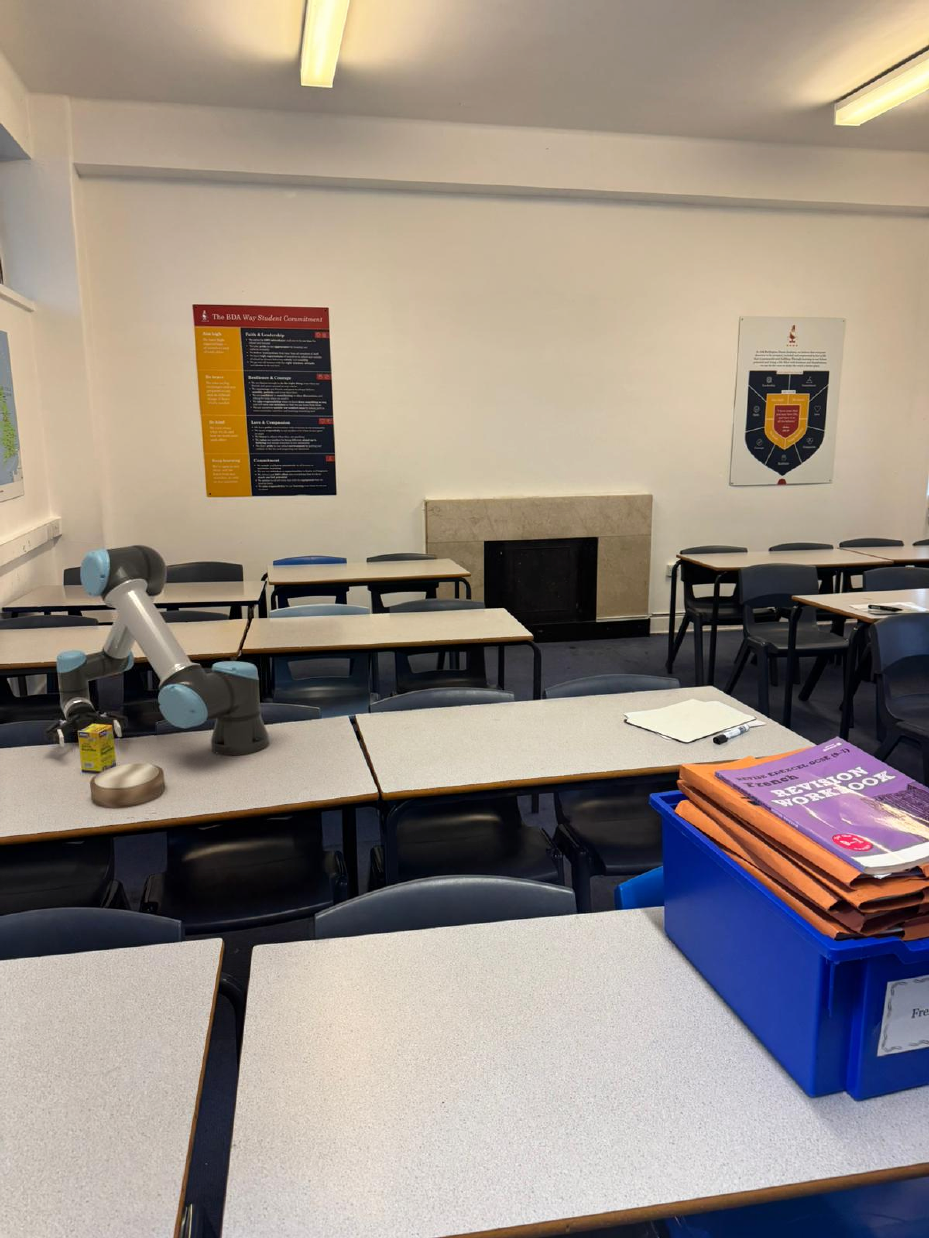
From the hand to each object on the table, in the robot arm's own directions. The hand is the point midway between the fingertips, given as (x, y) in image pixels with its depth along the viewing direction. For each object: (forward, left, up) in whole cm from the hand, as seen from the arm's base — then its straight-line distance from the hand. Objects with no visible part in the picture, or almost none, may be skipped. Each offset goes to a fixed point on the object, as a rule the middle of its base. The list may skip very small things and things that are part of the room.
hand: (91, 736), depth 209 cm
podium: (-13, +23, -6) cm, 27 cm away
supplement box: (-3, +6, -7) cm, 10 cm away
